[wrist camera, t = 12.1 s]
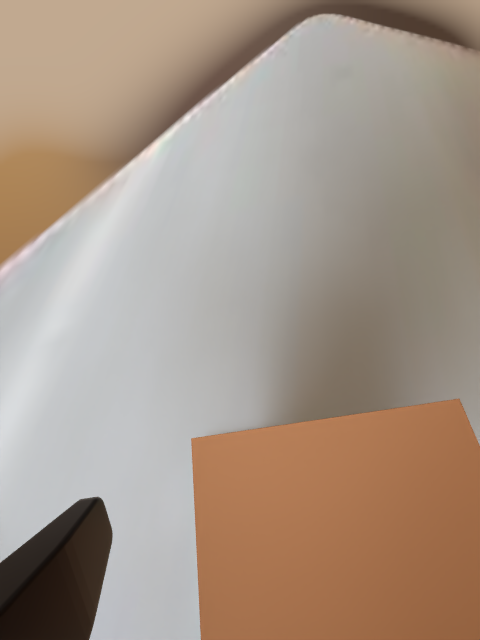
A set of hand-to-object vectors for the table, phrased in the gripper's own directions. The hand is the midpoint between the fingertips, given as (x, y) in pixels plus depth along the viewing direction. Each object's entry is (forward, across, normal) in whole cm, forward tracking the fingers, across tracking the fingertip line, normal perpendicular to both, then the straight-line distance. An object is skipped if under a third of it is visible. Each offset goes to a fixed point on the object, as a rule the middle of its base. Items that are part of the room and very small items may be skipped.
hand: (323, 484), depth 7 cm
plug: (+4, 0, +6) cm, 8 cm away
